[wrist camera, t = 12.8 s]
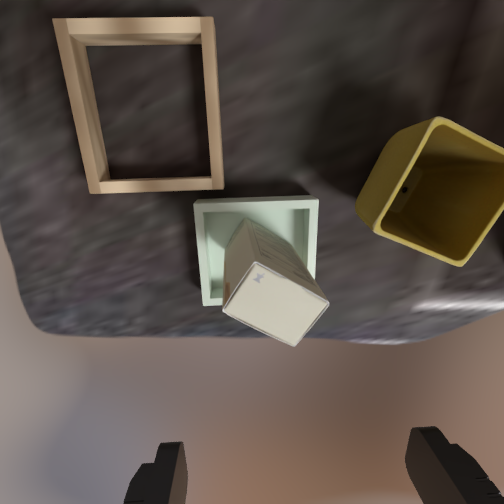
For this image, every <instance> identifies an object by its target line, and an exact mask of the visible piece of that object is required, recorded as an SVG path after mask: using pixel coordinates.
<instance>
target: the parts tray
mask: <svg viewBox="0 0 504 504" xmlns="http://www.w3.org/2000/svg"><path fill="white" fill-rule="evenodd" d="M318 203H319V199H317V198H315V197H313V196H312V195H299V196H271V197H243V198H216V199H197V200H196V201H195V203H194V204H193V206H194V216H195V227H196V237H197V247H198V258H199V268H200V278H201V289H202V299H203V306H212V305H222V300H223V274H224V253H225V248H226V246H227V244H228V242H229V241H230V239H231V237H232V236H233V234H234V233H235V231H236V230H237V228H238V227H239V225H240V224H241V222H242V221H243V219H244V218H248V219H249V220H251V221H253V222H255V223H257V224H258V225H260V226H262V227H264V228H265V229H267V230H269V231H270V232H272V233H274V234H275V235H277V236H279V237H280V238H282V239H283V240H285V241H287V242H288V243H290V244H291V245H292V246H293V248H294V249H295V251H296V252H297V254H298V255H299V257H300V258H301V260H302V261H303V263H304V265H305V266H306V268H307V269H308V271H309V272H310V274H311V275H312V277H313V278H314V280H315V263H316V243H317V223H318Z"/></svg>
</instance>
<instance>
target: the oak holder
mask: <svg viewBox="0 0 504 504" xmlns="http://www.w3.org/2000/svg"><path fill="white" fill-rule="evenodd" d="M52 20H53V24H54V29H55V34H56V38H57V43H58V48H59V52H60V57H61V62H62V66H63V71H64V75H65V80H66V85H67V89H68V94H69V99H70V103H71V108H72V113H73V117H74V122H75V127H76V131H77V136H78V140H79V145H80V150H81V154H82V159H83V164H84V168H85V173H86V178H87V182H88V187H89V192H90V194H99V193H128V192H157V191H186V190H214V189H224V170H223V153H222V136H221V119H220V102H219V85H218V69H217V52H216V35H215V26H214V20H213V17H148V18H56V19H52ZM178 44H202V54H203V67H204V81H205V95H206V108H207V122H208V136H209V149H210V163H211V176H203V177H172V178H142V179H110V173H109V168H108V163H107V157H106V152H105V147H104V141H103V136H102V131H101V125H100V120H99V115H98V110H97V104H96V99H95V94H94V88H93V83H92V78H91V72H90V67H89V62H88V56H87V51H86V46H109V45H178Z"/></svg>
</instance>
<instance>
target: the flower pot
mask: <svg viewBox="0 0 504 504" xmlns="http://www.w3.org/2000/svg"><path fill="white" fill-rule="evenodd" d="M404 187H406V188H407V191H406V192H405V193H403V192H402V189H403V188H404ZM355 210H356V213H357V215H358V216H359V217H360V218H361V219H362V220H363V221H364V222H365V223H366V224H367V225H368V226H369V227H370V229H372V230H373V232H374V233H376V234H378V235H381V236H383V237H386V238H389V239H391V240H394V241H396V242H399V243H401V244H404V245H406V246H409V247H411V248H413V249H416V250H418V251H421V252H423V253H425V254H428V255H430V256H433V257H435V258H437V259H440V260H442V261H445V262H447V263H449V264H452V265H454V266H458V267H462V266H463V265H464V264H465V263H466V262H467V261H468V259H469V258H470V257H471V255H472V254H473V253H474V251H475V250H476V249H477V247H478V246H479V245H480V243H481V242H482V240H483V239H484V237H485V236H486V234H487V233H488V231H489V230H490V229H491V227H492V226H493V224H494V223H495V221H496V220H497V219H498V217H499V216H500V214H501V213H502V211H503V210H504V148H502V147H500V146H498V145H496V144H494V143H492V142H490V141H488V140H486V139H484V138H483V137H481V136H479V135H477V134H475V133H473V132H471V131H469V130H468V129H466V128H464V127H462V126H460V125H458V124H456V123H455V122H453V121H451V120H449V119H446V118H444V117H440V116H438V117H434V118H432V119H429V120H426V121H423V122H420V123H418V124H415V125H412V126H409V127H407V128H404V129H402V130H400V131H398V132H397V133H396V134H394V135H393V136H392V137H391V138H390V140H389V141H388V142H387V144H386V145H385V147H384V148H383V150H382V152H381V154H380V156H379V158H378V160H377V162H376V164H375V165H374V167H373V169H372V171H371V173H370V175H369V177H368V179H367V181H366V183H365V184H364V186H363V188H362V190H361V192H360V194H359V196H358V198H357V200H356V203H355Z"/></svg>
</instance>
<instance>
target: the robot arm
mask: <svg viewBox="0 0 504 504" xmlns="http://www.w3.org/2000/svg"><path fill="white" fill-rule="evenodd" d="M405 463H406V468H407V471H408V474H409V476H410V479H411V481H412V482H413V484H414V486H415V488H416V490H417V492H418V494H419V496H420V498H421V499H422V501H423V503H424V504H504V497H502V495H501V492H500V491H499V490H498V488H497V487H496V486H495V484H494V483H493V482H492V481H490V480H489V477H488V475H487V474H486V473H485V472H484V470H483V469H482V468H481V466H480V465H479V464H478V462H477V461H476V460H475V459H474V458H473V457H472V456H471V455H470V454H468V453H467V452H466V451H465V450H463V449H462V448H461V447H460V446H459V445H458V444H450V443H449V442H448V440H447V439H446V438H445V436H444V435H443V433H442V432H441V431H440V430H439V429H438V428H437V427H435V426H431V427H415V428H412V429H411V432H410V436H409V441H408V446H407V451H406V455H405ZM187 482H188V471H187V464H186V457H185V451H184V444H183V442H168V443H160V445H159V447H158V450H157V454H156V458H155V461H154V463H146V464H145V463H144V464H142V465H141V467H140V468H139V469H138V471H137V472H136V474H135V475H134V477H133V478H132V480H131V482H130V484H129V487H128V490H127V493H126V496H125V499H124V504H185V500H186V494H187Z"/></svg>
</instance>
